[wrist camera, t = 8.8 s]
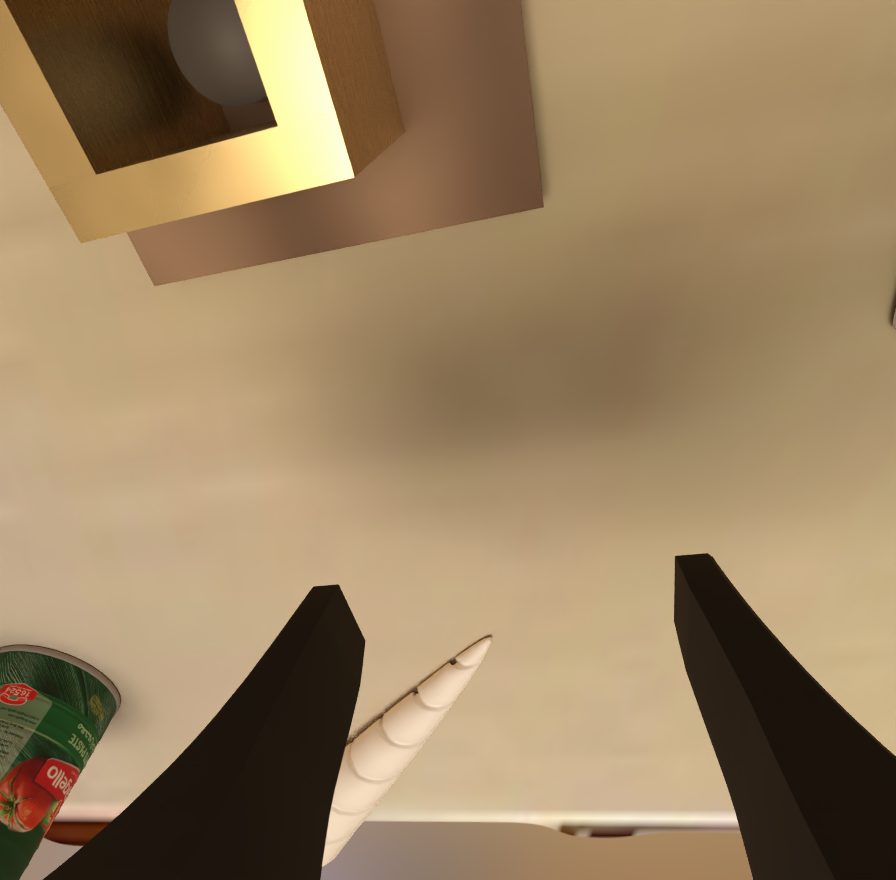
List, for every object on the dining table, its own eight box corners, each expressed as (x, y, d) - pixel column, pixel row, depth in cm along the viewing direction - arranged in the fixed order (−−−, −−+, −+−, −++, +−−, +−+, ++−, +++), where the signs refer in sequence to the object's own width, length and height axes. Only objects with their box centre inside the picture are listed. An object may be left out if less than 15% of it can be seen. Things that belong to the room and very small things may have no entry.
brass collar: (334, -166, 11) (207, -324, 7) (405, 132, 14) (354, 177, 10) (103, -82, 13) (-154, -163, 8) (214, 180, 16) (80, 243, 11)
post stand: (478, -352, 11) (467, -525, 7) (541, 197, 16) (550, 236, 13) (-35, -149, 13) (-216, -214, 10) (173, 273, 18) (102, 322, 15)
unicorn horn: (550, 657, 29) (557, 752, 25) (342, 803, 42) (325, 882, 38) (476, 620, 28) (471, 713, 24) (284, 782, 40) (261, 862, 36)
